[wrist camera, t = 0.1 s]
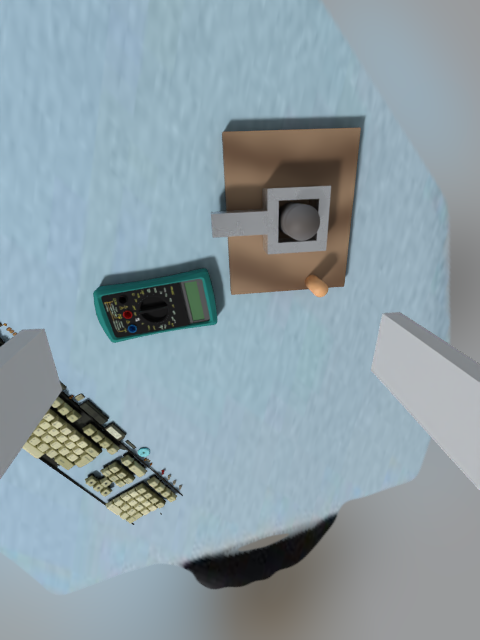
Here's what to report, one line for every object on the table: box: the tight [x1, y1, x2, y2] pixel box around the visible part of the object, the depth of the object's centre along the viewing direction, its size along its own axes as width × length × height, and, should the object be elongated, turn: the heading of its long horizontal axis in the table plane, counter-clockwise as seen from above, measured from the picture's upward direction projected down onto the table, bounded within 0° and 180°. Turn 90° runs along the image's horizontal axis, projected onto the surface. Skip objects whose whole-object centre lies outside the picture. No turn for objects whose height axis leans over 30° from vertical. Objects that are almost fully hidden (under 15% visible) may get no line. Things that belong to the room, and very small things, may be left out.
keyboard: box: [0, 323, 183, 525], centre depth 47 cm, size 45×15×2 cm, turn 32°
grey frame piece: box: [211, 186, 331, 254], centre depth 34 cm, size 13×7×3 cm, turn 92°
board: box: [222, 128, 361, 295], centre depth 34 cm, size 18×15×6 cm
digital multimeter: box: [93, 268, 217, 343], centre depth 39 cm, size 7×15×3 cm, turn 99°
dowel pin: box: [305, 275, 328, 297], centre depth 38 cm, size 2×2×4 cm
